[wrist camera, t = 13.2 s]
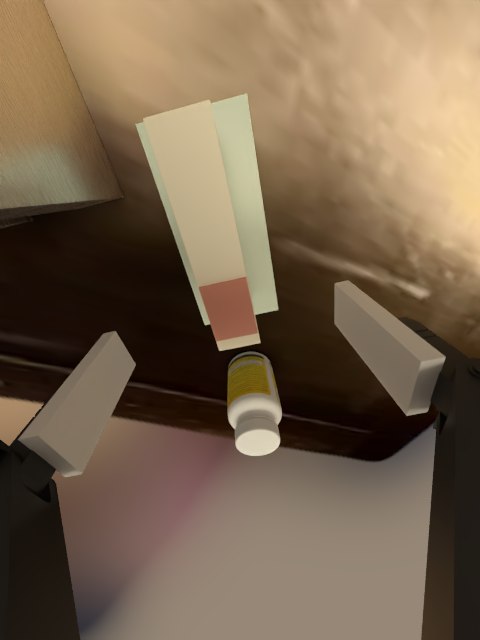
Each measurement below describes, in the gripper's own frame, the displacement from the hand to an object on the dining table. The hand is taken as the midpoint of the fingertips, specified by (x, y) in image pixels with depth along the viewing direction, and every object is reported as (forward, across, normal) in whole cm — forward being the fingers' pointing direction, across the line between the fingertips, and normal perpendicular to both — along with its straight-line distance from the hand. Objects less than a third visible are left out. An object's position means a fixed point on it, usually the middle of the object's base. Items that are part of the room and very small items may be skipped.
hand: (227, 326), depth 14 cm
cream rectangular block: (+9, 0, +4) cm, 10 cm away
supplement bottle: (+10, 0, -12) cm, 16 cm away
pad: (+10, 0, +4) cm, 11 cm away
